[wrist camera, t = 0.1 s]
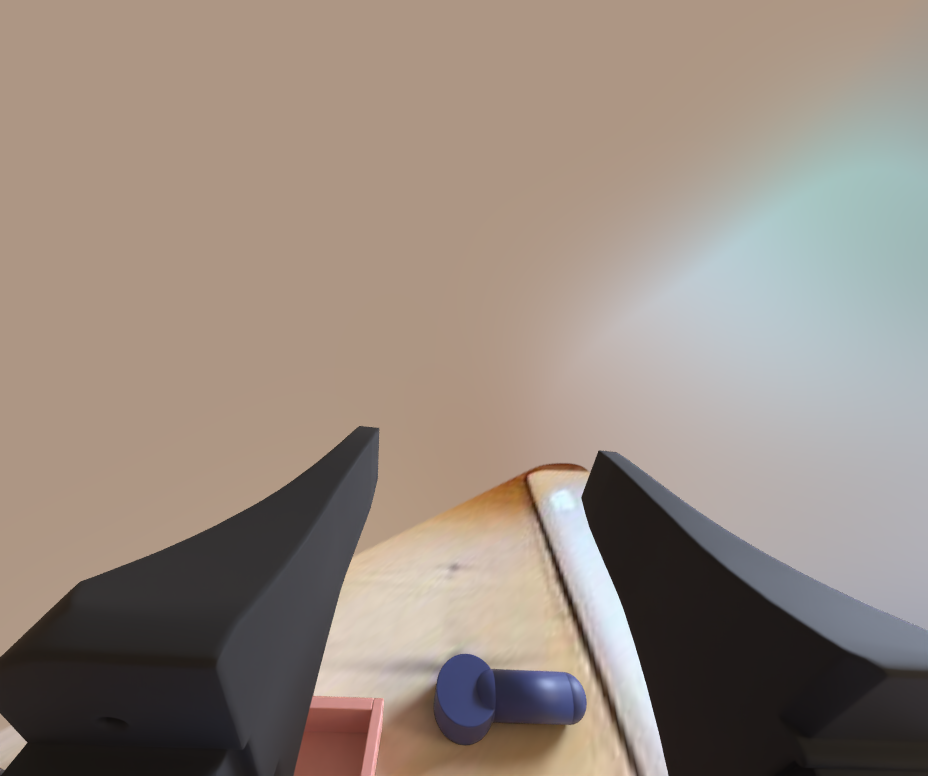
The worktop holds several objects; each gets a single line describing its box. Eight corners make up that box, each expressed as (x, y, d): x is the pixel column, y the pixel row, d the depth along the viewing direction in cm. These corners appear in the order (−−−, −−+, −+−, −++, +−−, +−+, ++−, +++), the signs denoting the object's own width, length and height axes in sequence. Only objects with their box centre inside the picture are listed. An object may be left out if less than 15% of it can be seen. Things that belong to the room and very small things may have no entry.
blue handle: (570, 675, 25) (579, 653, 24) (591, 748, 22) (601, 725, 21) (435, 670, 25) (438, 646, 24) (432, 744, 21) (435, 720, 20)
